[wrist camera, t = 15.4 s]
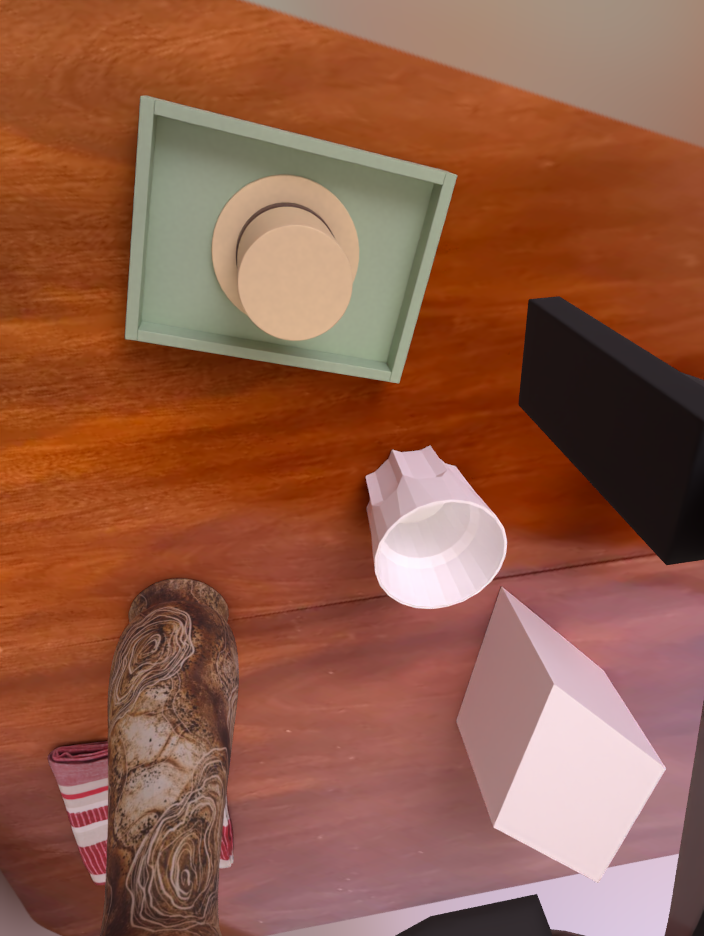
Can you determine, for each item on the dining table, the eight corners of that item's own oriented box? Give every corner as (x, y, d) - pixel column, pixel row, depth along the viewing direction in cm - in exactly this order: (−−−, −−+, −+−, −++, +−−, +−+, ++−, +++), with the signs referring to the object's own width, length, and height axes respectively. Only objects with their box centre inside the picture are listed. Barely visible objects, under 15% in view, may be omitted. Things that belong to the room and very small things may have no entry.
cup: (355, 540, 58) (376, 616, 50) (351, 442, 53) (373, 508, 45) (463, 527, 59) (500, 599, 51) (469, 430, 54) (512, 492, 46)
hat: (181, 260, 43) (169, 294, 36) (276, 138, 41) (285, 148, 33) (294, 352, 48) (304, 398, 40) (387, 247, 45) (416, 276, 38)
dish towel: (220, 724, 67) (219, 746, 65) (236, 852, 79) (235, 874, 77) (49, 743, 65) (42, 767, 63) (92, 872, 77) (87, 896, 74)
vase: (144, 558, 56) (65, 955, 30) (259, 588, 59) (277, 966, 34) (109, 642, 60) (12, 1056, 34) (219, 666, 63) (207, 1057, 38)
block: (585, 556, 63) (655, 648, 53) (617, 758, 81) (674, 857, 71) (417, 615, 64) (453, 718, 53) (486, 803, 82) (523, 908, 71)
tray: (129, 327, 46) (124, 339, 43) (145, 95, 39) (140, 95, 37) (392, 370, 50) (399, 383, 48) (446, 170, 44) (457, 175, 41)
